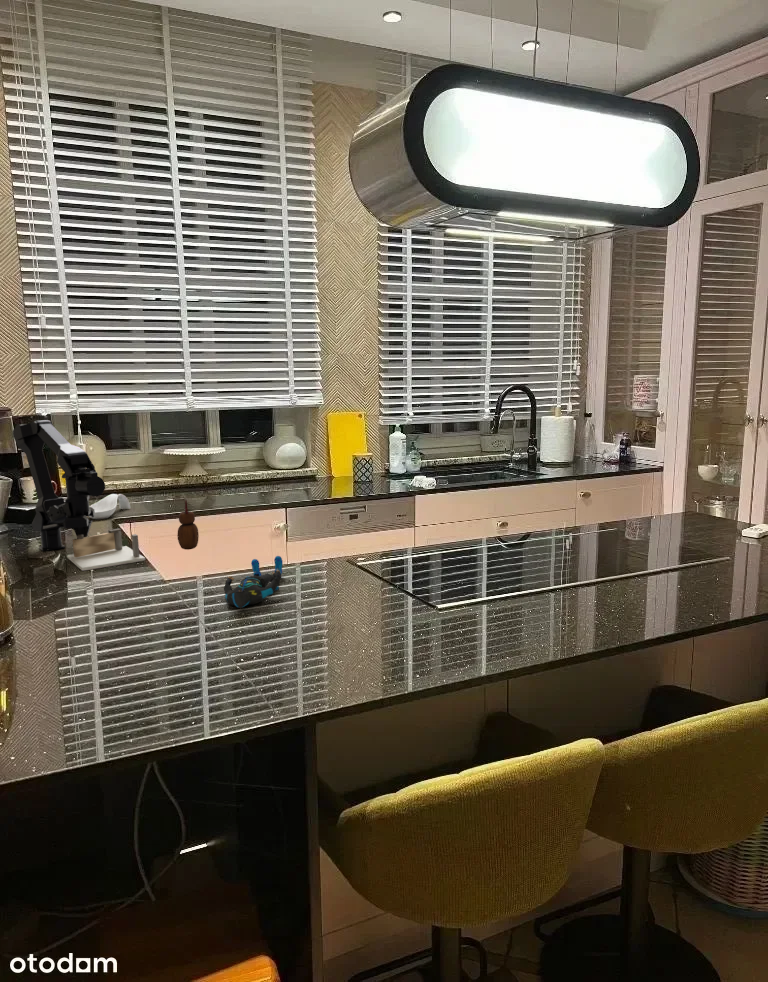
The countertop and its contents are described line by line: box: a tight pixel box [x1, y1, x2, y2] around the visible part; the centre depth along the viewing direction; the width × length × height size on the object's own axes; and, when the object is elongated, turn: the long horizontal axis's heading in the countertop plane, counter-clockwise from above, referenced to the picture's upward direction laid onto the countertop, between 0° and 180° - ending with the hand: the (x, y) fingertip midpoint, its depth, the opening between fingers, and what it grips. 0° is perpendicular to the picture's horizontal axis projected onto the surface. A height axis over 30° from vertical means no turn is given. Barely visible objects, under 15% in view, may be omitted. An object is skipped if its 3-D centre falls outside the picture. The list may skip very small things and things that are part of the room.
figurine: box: [223, 555, 283, 609], centre depth 176 cm, size 13×6×30 cm
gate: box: [72, 528, 122, 557], centre depth 219 cm, size 14×2×6 cm, turn 139°
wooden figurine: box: [177, 500, 200, 551], centre depth 225 cm, size 7×6×15 cm
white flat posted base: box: [66, 531, 146, 572], centre depth 216 cm, size 19×17×7 cm
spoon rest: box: [87, 493, 131, 520], centre depth 287 cm, size 24×12×7 cm, turn 170°
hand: (82, 546), depth 222 cm, fingers closed
